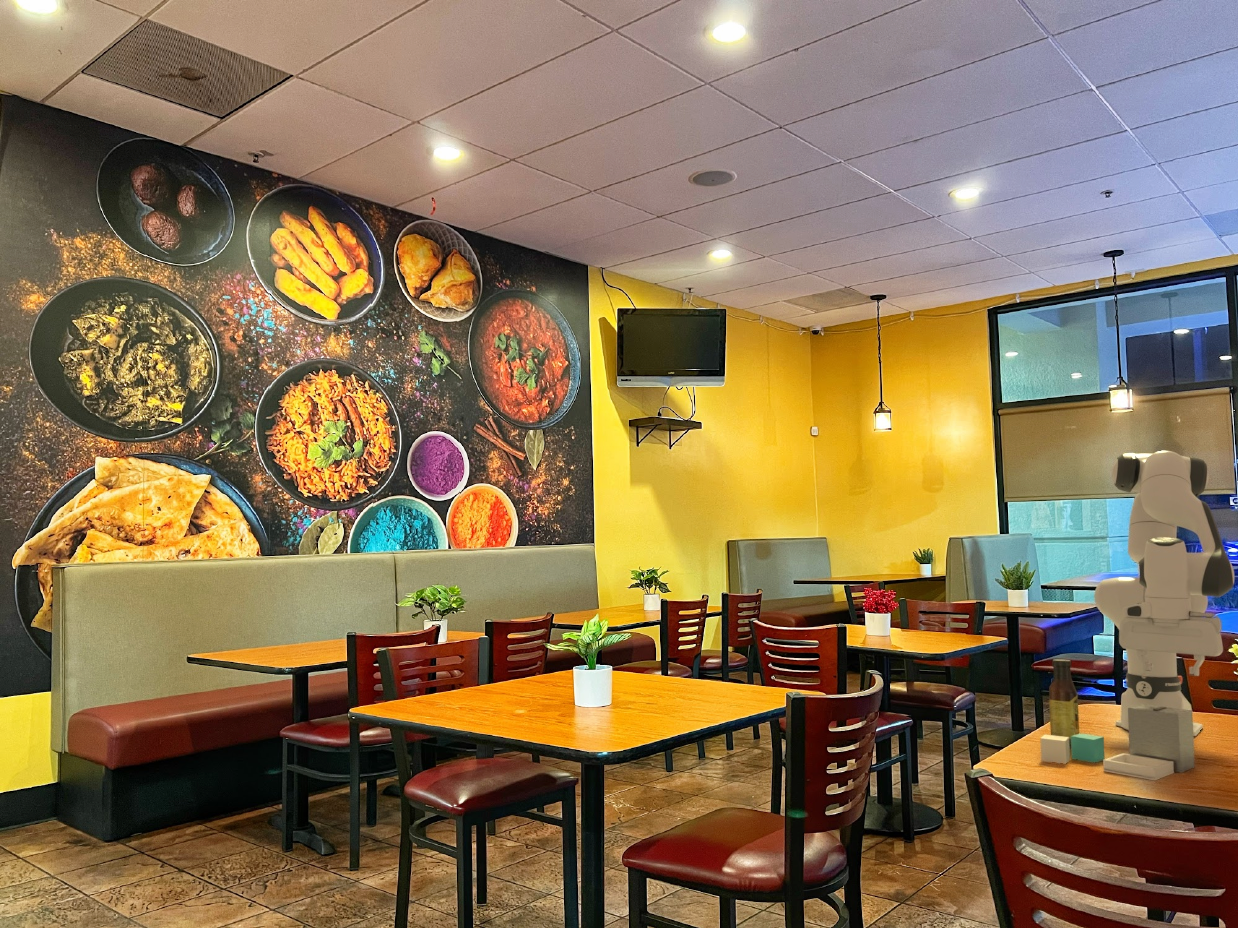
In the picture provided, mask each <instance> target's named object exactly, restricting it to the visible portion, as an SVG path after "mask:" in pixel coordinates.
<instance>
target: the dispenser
mask: <svg viewBox="0 0 1238 928" xmlns="http://www.w3.org/2000/svg"><path fill="white" fill-rule="evenodd" d="M1193 719H1194V718H1193V709H1192V710H1186V709H1178V708H1170V707H1162V706H1154V705H1146V704H1141V705H1137V706H1133V707H1130V708H1128V724H1129V730H1128V744H1129V745H1128V747H1129V751H1128V752H1129V754H1130V755H1137V756H1143V757H1149V758H1155V759H1161V760H1167V761H1173V766H1174V773H1179V774H1182V773H1185V772H1187V771H1189V770H1192V769H1193V768H1195V767H1196V766H1195V765H1196V764H1195V745H1194V743H1195V742H1194V741H1195V740H1194V736H1193V722H1194V720H1193Z"/></svg>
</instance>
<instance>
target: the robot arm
mask: <svg viewBox="0 0 1238 928" xmlns="http://www.w3.org/2000/svg"><path fill="white" fill-rule="evenodd" d="M1113 463H1114V464H1113V466H1112V468H1111V477H1112V480H1113V483H1114V484H1113V485H1114V486H1115V487H1116V489H1118V490H1120V491H1122V492H1124V493H1131V492H1132V493H1137V494H1136V495H1135V497H1134V499H1133V502H1132V505H1131V506H1132V507H1131V511H1130V516H1129V524H1128V542H1127V543H1128V544H1127V553H1128V556H1129V558H1130V559H1131V560H1132V561H1133V562H1135V563H1136V564H1137V565H1138V568H1139V570H1138V571H1139V573H1138V574H1139V577H1137V576H1136V577H1135V576H1117V577H1111V578H1106V579H1105V578H1104V579H1102V580H1101V581H1100V582H1099V583H1098V585H1097V586H1096V588H1095V590H1094V596H1093V599H1094V602H1095V606H1096V608H1097V609H1098V611H1100V613H1101V614H1102V615H1103V616H1104V617H1107V619H1109V620H1110V621H1111V622H1112V623H1113V624H1114V626H1116V627H1117V629H1118V631H1119V632H1118V642H1119V645H1120V646H1121V648H1122V649H1125V651H1126V652H1125V653H1126V661H1127V672H1126V673H1125V676H1126V677H1125V683H1126V687H1127V689H1126V691H1124V692H1122V694H1121V700H1120V703H1121V704H1120V719H1119V720H1115V722H1114V723H1115V725H1114V726H1118V727H1121V728H1123V729H1124V730H1127V731H1129V724H1128V708H1130V707H1133V706H1137V705H1141V704H1146V705H1154V706H1162V707H1170V708H1178V709H1186V710H1192V711H1193V709H1192V704H1191V703H1190V702H1189V701H1188V699H1187V698H1186V697H1185V695H1184V694H1183V693H1182V691H1181V690H1182V687H1181V686H1182V684H1183V676H1182V675H1178V670H1177V669H1178V667H1177V665H1178V663H1177V654H1181V655H1191V656H1192V655H1193V660H1195V661H1196V662H1194V665H1193V666H1188V670H1189V672H1188V675H1189V676H1194V677H1200V667H1202V664H1203V663H1204V661H1206V660H1205V659H1206V656H1207V657H1218V656H1220V655H1222V653H1223V652H1224V646H1223V640H1222V634H1221V632H1222V631H1223V630H1222V629H1223V627H1222V620H1221V618H1220V617H1219V616H1218V615H1216V614H1214V612H1206V611H1207V608H1208V603H1209V601H1208V600H1209V599H1208V597H1214V598H1220V597H1222V596H1224V595H1225V594H1227V593H1228V592H1230V591H1231V590H1232V589H1233V588H1234V584H1235V570H1234V567H1233V565H1232V562H1231V561H1230V559H1229V556H1228V554H1227V551H1226V549H1225V547H1224V544H1223V541H1222V538H1221V534H1220V532H1219V530H1218V526H1217V523H1216V521H1215V517H1214V514H1213V513H1212V510H1211V508H1210V507H1209V505H1208V503H1207V502H1206V501H1203V500H1201V499H1199V498H1198V497H1199V496H1201V494H1203V493H1204V491H1205V489H1206V488H1207V486H1208V483H1209V481H1210V473H1209V469H1208V464H1207V463H1206V461H1205V460H1203V459H1202V458H1199V457H1194V456H1191V455H1190V456H1185V455H1180V454H1179V453H1177V452H1175V451H1171V450H1161V451H1159V450H1158V451H1155V452H1154V453H1135V452H1127V453H1122V454H1120V455H1119V456H1118V457H1116V460H1115V462H1113ZM1178 527H1180V528H1183V529H1186V530H1189V531H1191V532H1193V533H1195V534H1196V535H1197V536H1198V539H1199V543H1200V545H1201V547H1202V548H1201V549H1202V551H1201V552H1188V551H1187V547H1186V544H1185V541H1184V540H1182V539H1180V538H1177V531H1178V530H1177V529H1178ZM1202 728H1204V727H1203V724H1202V723H1198V722H1195V721H1193V737H1197V735H1199V733H1200V732H1201V731H1202V730H1203V729H1202ZM1201 729H1202V730H1201ZM1200 730H1201V731H1200Z"/></svg>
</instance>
